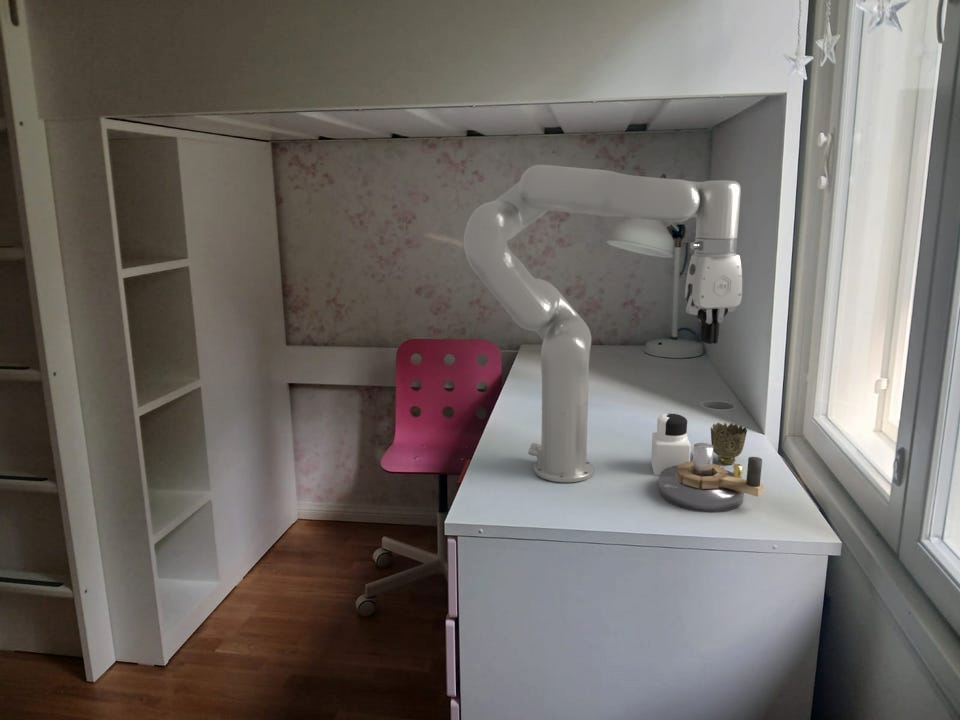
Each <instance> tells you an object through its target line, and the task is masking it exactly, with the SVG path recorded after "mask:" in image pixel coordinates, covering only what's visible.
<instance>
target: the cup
mask: <svg viewBox="0 0 960 720" xmlns="http://www.w3.org/2000/svg"><path fill="white" fill-rule="evenodd" d="M747 433H748V429H747V427H743V425H738V424H736V423H735V424H733V423H732V422H731V423H730V424H729V425H728V424H727V423H726V422H724V423H723V424H722V423H720V422H717V423H716V424H715V423H713V424H712V427H710V441H711V445H712V446H713V447H714V448H713V453H715V455H716V456H717V462H718V463H720V464H723V465H726V466H727V465H734V464H735V462H736V458H738V457H739V456H740V455H741V454H742V452H743V450H744V446H745V440H746V437H747Z"/></svg>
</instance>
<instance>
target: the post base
mask: <svg viewBox="0 0 960 720" xmlns="http://www.w3.org/2000/svg"><path fill="white" fill-rule="evenodd" d="M713 448H714V447H713V446H712V443H711V444H710V443H707V442H705V443H704V442H697V443H695V444H693V456H692V462H693V469H692V473H690V474H693V475H697V476H701V477H706V476H712V464H713V459H714V451H713ZM677 466H678V465H676V466H672V467H669V468H666V469H664V470H663V471H662V472H661V473H660V475H658V476H659V478H658V494H659V496H660V497H661V498H662V499H663V500H664V501H666V502H667V503H669V504H671V505H674V506H676V507H678V508H680V509H681V508H682V509H685V510H688V511H695V512H700V513H723V512H729V511H733V510H736V509H738V508H739V507H740V506H742V505H743V503H744V501H745V493H743V492H739V491H735V490H732V489H728V488H725V487H722V488H721V487H719V488H712V489H702V488H701V487H700V488H695V487H692V486H688V485H685V484H683V483H680V482H679V480H678V479H677V478H676V477H675V468H676V467H677ZM725 470H726V471H727V472H728V473H729V476H733V477H737V478H741V479H743V477H742V475H743V465H742V464H741V463H740V464H739V463H733V469H732V470H733V471H729V470H727V469H725Z"/></svg>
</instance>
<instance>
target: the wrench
mask: <svg viewBox="0 0 960 720" xmlns="http://www.w3.org/2000/svg"><path fill="white" fill-rule="evenodd" d="M762 466H763V459H762V457H761V458H760V457H759V456H749V457H748V459H747V469H746V470H747V471H746V479H744V478H742V479H741V478H737V477H733V476H729V473H728V472H727V471H728V470H727V469H725V467H724V466H721V465H719V464H715V463H712V476H706V477H701V476H697V475H693V474H690V473H692V469H693V461H690V462H686V463H682V464H680V465H678V466H677V467H676V468H675V477H676V478H677V479H678V480H679V482H680V483H683V484H685V485H688V486H692V487H695V488H700V487H701V488H702V489H712V488H719V487H721V488H722V487H725V488H728V489H732V490H735V491H739V492H743V493H744V494H747V495H751V496H754V497H757V498H758V497H760V495H762V494H763V493H764V484H763V483H761V478H762V477H761V476H762ZM726 470H727V471H726Z"/></svg>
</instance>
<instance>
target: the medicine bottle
mask: <svg viewBox="0 0 960 720" xmlns="http://www.w3.org/2000/svg"><path fill="white" fill-rule="evenodd" d="M656 421H657V423H656V432H652V438H651V439H652V440H651V459H650V463H651V467H652V471H653V475H654V476H659V475H660V473H661V472H662V471H663V470H664V469H666V468H669V467H672V466H676V465H680V464H682V463H686V462H691V447H692V446H691V442H690V440H689V437H688V435H687V429H688V420H687V418H686V417H685V416H683V415H681V414H677V413H663V414H660V415H659V416H658V417H657V420H656Z"/></svg>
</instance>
